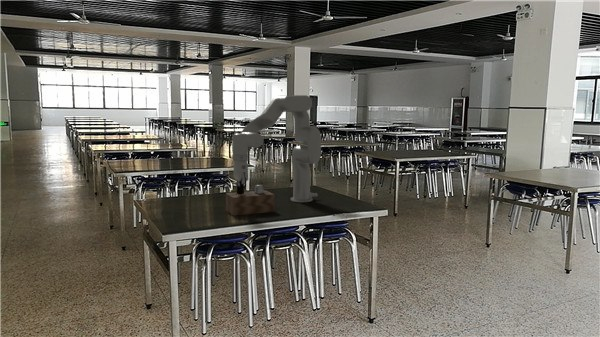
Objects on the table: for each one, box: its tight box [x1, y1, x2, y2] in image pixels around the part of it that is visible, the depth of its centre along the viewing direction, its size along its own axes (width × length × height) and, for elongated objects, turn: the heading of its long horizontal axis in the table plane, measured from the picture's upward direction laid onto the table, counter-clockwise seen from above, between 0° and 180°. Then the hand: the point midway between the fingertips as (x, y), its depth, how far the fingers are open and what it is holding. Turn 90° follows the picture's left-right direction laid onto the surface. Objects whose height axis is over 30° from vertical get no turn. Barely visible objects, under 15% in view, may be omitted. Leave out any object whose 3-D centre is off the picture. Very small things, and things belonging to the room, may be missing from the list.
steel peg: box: [254, 184, 264, 194], centre depth 236 cm, size 4×4×8 cm
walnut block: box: [225, 189, 275, 216], centre depth 234 cm, size 22×12×9 cm, turn 116°
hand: (240, 193), depth 231 cm, fingers closed
